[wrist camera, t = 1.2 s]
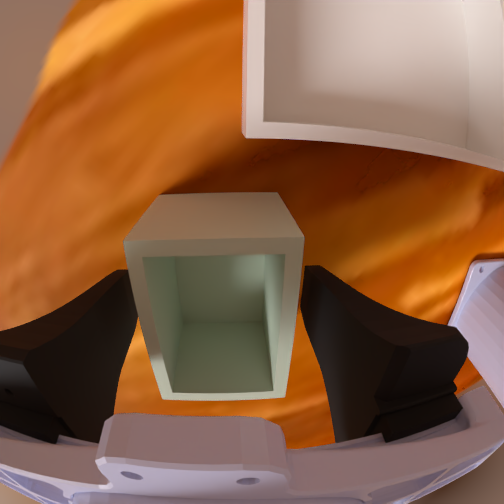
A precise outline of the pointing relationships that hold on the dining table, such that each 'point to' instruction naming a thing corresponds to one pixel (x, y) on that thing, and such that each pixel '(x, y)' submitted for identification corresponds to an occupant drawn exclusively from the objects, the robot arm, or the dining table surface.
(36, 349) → the robot arm
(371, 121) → the big crate
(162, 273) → the small crate
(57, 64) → the dining table surface
